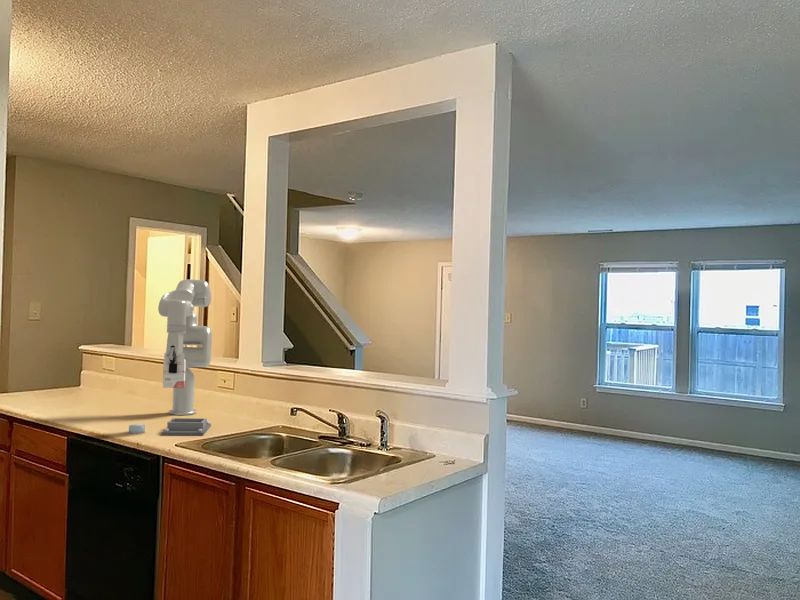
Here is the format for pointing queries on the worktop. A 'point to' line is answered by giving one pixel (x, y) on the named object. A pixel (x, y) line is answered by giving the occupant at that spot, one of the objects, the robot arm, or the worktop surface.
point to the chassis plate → (187, 426)
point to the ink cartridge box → (174, 378)
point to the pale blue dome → (137, 428)
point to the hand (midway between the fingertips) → (174, 371)
